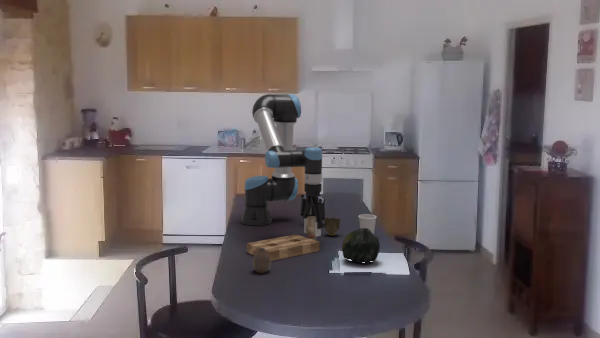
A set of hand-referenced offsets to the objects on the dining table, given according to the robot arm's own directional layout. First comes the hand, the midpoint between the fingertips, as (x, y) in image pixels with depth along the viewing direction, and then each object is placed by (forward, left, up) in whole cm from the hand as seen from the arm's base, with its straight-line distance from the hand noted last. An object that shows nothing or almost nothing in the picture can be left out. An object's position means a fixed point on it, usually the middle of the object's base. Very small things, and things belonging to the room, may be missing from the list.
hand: (312, 234), depth 278 cm
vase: (+21, -42, -4) cm, 47 cm away
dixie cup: (+7, +27, -4) cm, 28 cm away
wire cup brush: (-5, +16, -4) cm, 17 cm away
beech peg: (0, 0, -4) cm, 4 cm away
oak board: (+4, -19, -4) cm, 20 cm away
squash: (+34, -3, -4) cm, 34 cm away
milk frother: (-23, +25, -4) cm, 34 cm away
